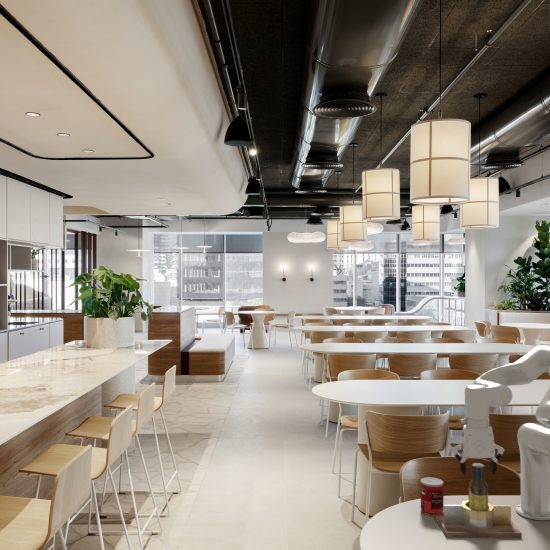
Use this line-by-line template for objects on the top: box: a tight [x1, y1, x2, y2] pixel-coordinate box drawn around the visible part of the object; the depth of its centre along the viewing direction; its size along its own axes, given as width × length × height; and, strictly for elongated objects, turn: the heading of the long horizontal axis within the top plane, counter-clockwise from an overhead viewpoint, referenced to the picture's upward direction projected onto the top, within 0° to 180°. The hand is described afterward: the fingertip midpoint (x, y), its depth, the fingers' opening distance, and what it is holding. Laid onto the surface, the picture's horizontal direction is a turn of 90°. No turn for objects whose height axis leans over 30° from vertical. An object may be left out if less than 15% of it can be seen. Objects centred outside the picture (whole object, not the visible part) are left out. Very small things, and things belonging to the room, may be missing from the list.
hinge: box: [443, 499, 512, 530], centre depth 194 cm, size 10×22×6 cm, turn 88°
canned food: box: [420, 476, 444, 516], centre depth 208 cm, size 8×8×11 cm
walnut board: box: [435, 513, 523, 539], centre depth 194 cm, size 14×24×2 cm, turn 88°
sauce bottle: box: [468, 462, 489, 510], centre depth 194 cm, size 6×6×20 cm
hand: (478, 473), depth 194 cm, fingers open, 9 cm apart
